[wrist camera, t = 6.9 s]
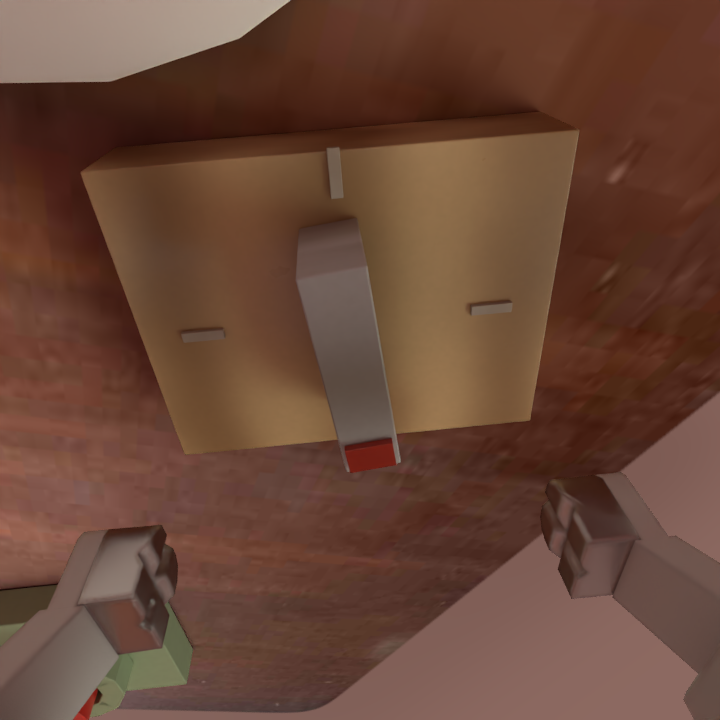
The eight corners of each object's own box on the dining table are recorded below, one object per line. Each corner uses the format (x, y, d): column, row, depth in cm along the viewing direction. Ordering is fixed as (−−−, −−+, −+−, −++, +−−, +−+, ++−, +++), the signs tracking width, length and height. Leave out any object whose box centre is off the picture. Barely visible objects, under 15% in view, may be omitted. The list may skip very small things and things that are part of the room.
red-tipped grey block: (298, 228, 15) (294, 283, 12) (356, 217, 15) (368, 270, 12) (341, 403, 19) (346, 478, 16) (387, 395, 19) (402, 468, 16)
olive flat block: (30, 667, 34) (0, 736, 31) (-38, 594, 29) (-83, 668, 26) (193, 649, 35) (180, 716, 31) (154, 573, 29) (134, 644, 26)
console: (198, 408, 23) (184, 460, 20) (113, 144, 16) (75, 169, 14) (506, 378, 23) (531, 425, 21) (541, 107, 17) (583, 126, 14)
